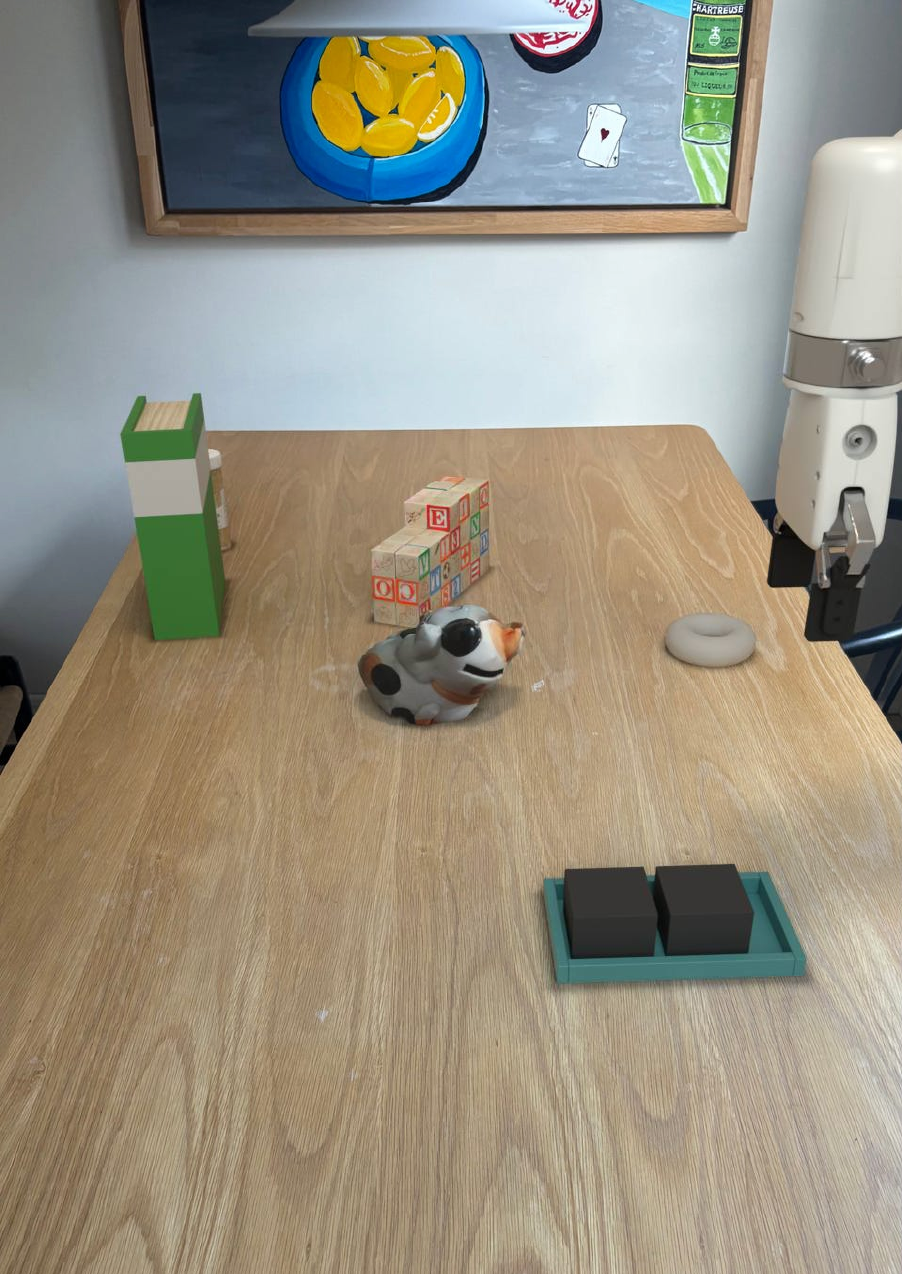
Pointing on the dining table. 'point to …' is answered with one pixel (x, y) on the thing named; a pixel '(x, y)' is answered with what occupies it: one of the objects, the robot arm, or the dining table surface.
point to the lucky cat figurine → (440, 664)
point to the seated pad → (609, 913)
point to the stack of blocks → (432, 551)
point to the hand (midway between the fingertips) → (807, 611)
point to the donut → (710, 639)
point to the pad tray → (766, 957)
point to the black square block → (702, 910)
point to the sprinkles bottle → (219, 498)
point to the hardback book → (175, 516)
